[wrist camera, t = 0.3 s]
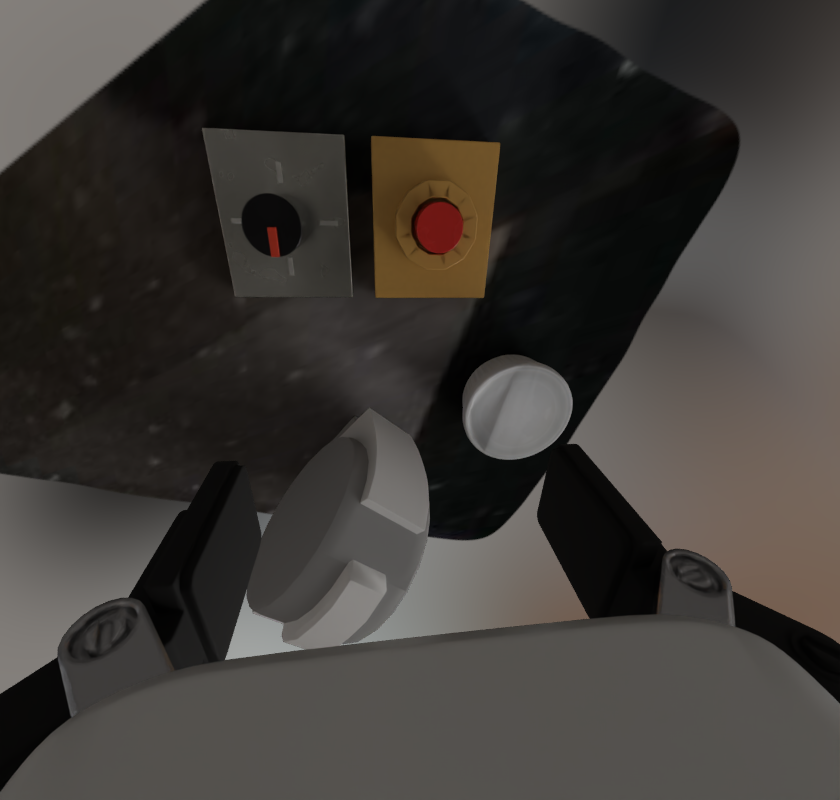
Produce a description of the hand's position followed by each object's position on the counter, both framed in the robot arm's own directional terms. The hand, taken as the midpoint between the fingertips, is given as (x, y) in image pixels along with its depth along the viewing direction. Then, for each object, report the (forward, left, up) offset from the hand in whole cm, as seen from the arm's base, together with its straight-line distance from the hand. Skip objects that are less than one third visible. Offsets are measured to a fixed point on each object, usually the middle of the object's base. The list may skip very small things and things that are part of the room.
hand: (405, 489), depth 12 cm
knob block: (-6, +5, -28) cm, 29 cm away
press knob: (-6, +5, -24) cm, 25 cm away
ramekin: (+11, +14, -28) cm, 33 cm away
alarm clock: (+19, -4, -28) cm, 34 cm away
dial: (-6, -7, -26) cm, 27 cm away
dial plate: (-6, -7, -28) cm, 29 cm away
